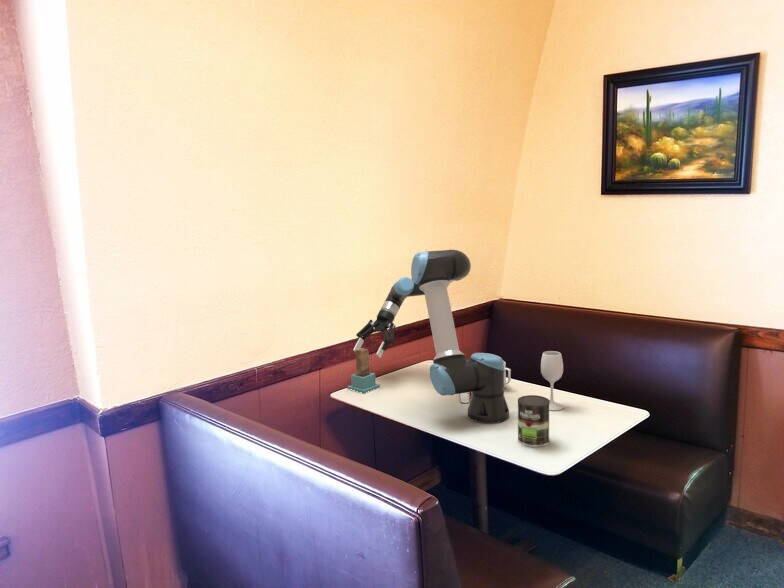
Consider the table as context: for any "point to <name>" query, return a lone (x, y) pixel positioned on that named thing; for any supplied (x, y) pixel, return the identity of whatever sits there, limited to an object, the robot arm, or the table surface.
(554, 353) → the wineglass
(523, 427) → the coffee can
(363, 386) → the teal square socket
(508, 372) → the mug
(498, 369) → the robot arm
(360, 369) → the post
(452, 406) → the table surface
